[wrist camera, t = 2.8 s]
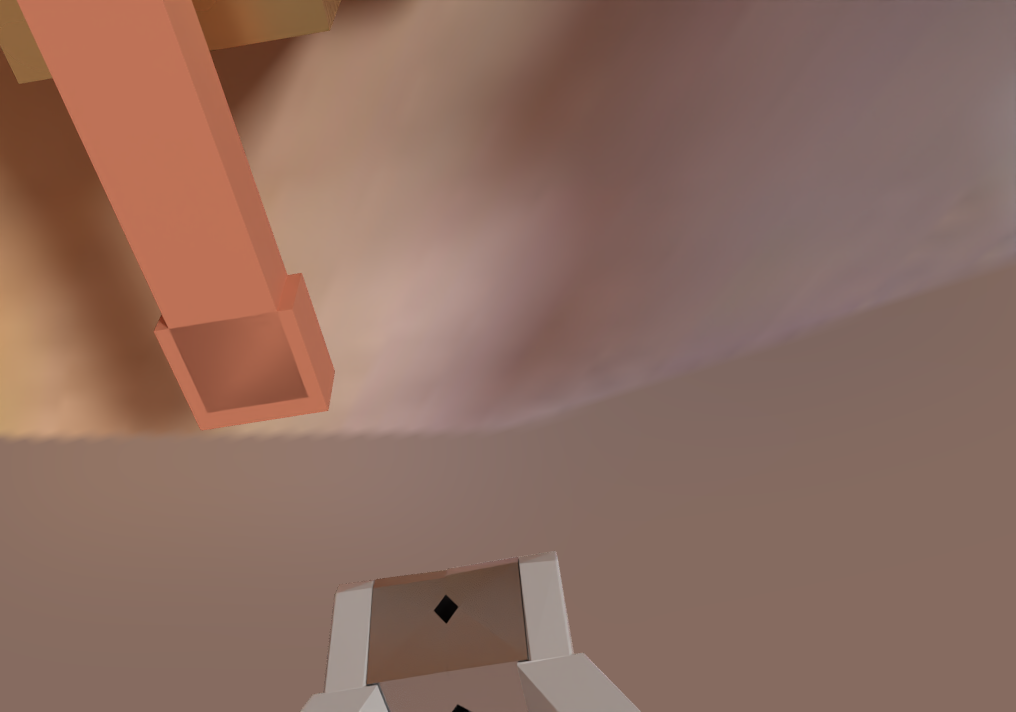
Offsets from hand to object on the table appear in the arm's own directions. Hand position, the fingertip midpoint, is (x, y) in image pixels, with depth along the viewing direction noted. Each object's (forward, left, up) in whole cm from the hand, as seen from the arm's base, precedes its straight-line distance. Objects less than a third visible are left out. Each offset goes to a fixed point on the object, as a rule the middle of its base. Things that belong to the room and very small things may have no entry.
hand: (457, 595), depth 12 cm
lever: (+5, -4, -11) cm, 12 cm away
